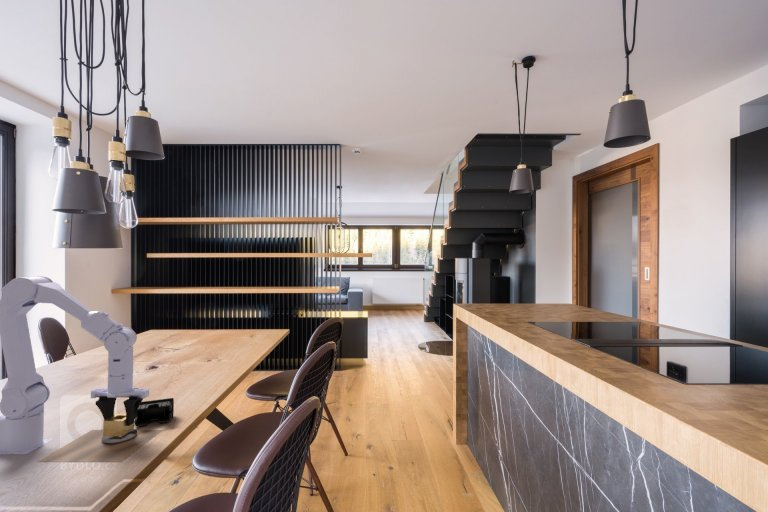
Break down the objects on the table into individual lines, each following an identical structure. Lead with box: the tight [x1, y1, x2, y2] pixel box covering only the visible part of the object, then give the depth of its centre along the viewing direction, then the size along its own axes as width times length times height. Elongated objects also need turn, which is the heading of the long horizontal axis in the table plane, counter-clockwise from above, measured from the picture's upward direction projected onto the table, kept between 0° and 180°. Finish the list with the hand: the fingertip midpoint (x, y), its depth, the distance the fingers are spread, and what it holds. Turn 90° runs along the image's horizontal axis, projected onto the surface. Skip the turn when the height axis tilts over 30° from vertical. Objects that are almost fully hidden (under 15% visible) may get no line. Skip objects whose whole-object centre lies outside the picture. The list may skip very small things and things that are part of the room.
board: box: [36, 429, 164, 463], centre depth 103 cm, size 20×18×1 cm
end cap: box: [134, 397, 175, 427], centre depth 118 cm, size 10×7×7 cm
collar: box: [102, 413, 135, 436], centre depth 107 cm, size 5×5×4 cm
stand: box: [101, 428, 138, 444], centre depth 107 cm, size 8×8×4 cm
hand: (119, 424), depth 107 cm, fingers closed on collar, 5 cm apart
